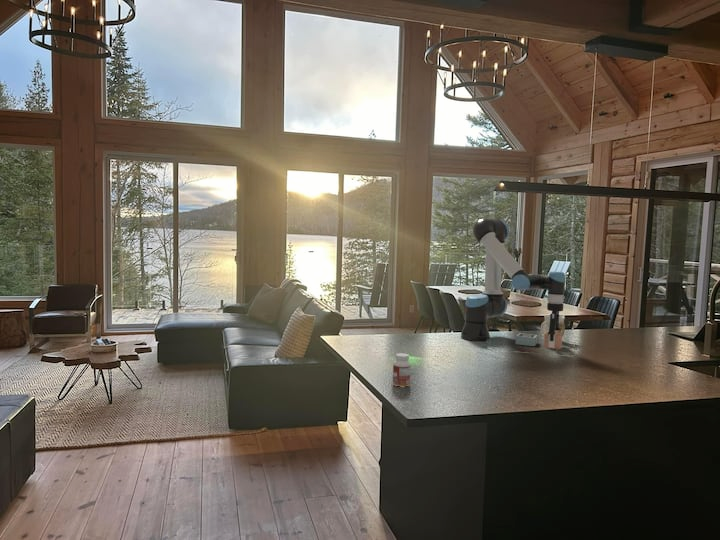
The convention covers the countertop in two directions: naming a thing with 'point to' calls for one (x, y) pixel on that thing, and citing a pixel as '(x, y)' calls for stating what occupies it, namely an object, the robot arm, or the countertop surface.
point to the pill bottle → (401, 370)
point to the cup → (557, 340)
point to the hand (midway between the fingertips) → (553, 345)
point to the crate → (526, 339)
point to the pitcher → (546, 325)
